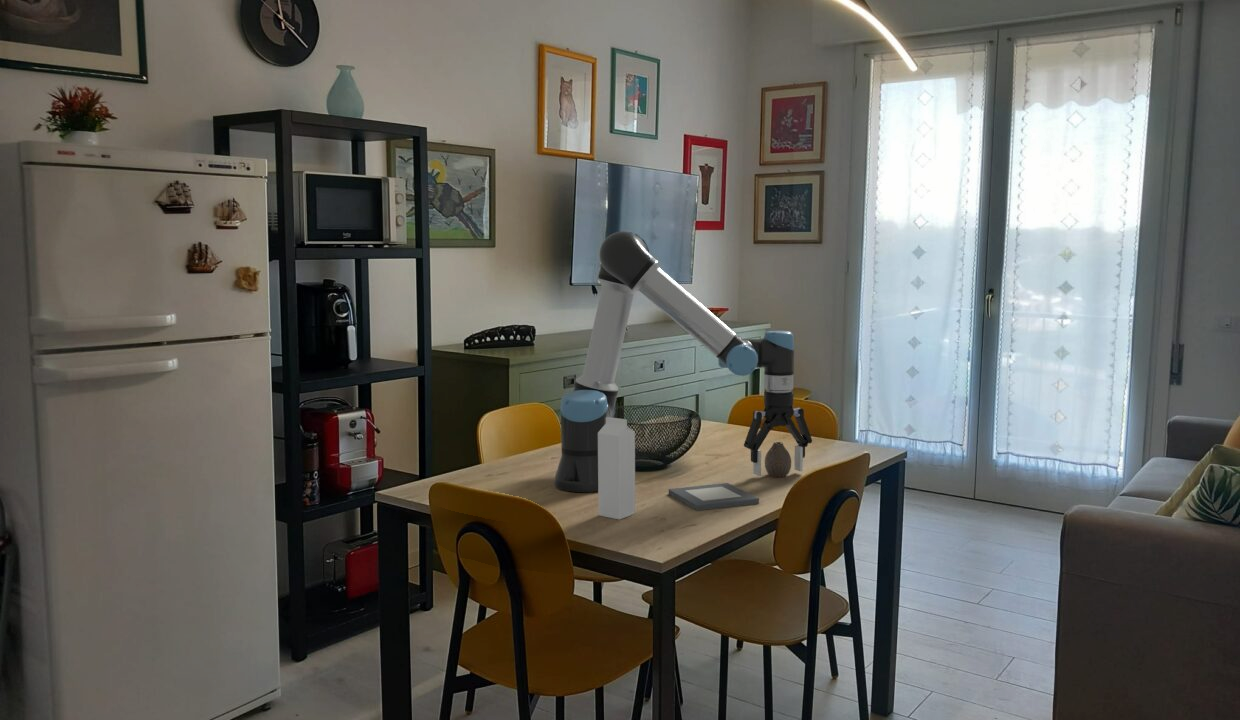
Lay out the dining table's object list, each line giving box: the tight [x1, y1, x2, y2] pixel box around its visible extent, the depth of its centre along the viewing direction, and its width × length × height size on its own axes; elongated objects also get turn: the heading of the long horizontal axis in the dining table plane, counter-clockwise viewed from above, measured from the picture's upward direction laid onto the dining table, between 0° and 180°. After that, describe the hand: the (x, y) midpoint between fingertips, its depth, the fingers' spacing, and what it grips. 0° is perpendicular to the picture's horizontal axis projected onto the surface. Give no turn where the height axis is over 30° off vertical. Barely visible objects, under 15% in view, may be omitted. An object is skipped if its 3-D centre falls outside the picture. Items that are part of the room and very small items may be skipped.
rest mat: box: [668, 482, 760, 512], centre depth 225 cm, size 16×16×1 cm
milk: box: [597, 417, 636, 521], centre depth 211 cm, size 6×6×22 cm
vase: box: [764, 441, 792, 478], centre depth 246 cm, size 7×7×9 cm
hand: (777, 472), depth 247 cm, fingers open, 12 cm apart
